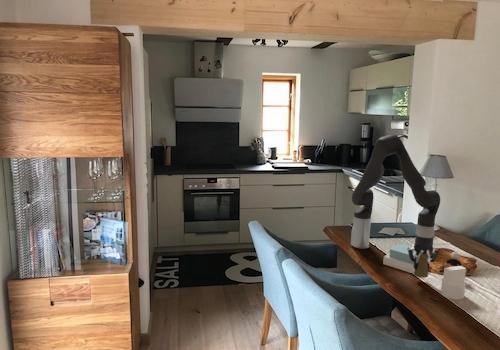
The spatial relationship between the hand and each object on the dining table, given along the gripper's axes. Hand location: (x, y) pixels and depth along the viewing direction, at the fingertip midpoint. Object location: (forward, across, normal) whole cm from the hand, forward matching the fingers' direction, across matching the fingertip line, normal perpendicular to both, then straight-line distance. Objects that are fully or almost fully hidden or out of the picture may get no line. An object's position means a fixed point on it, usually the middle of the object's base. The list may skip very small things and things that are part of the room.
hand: (421, 269), depth 186 cm
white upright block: (+6, +9, -12) cm, 16 cm away
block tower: (+6, 0, +19) cm, 20 cm away
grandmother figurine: (+6, +17, +5) cm, 19 cm away
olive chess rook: (+3, 0, 0) cm, 3 cm away
